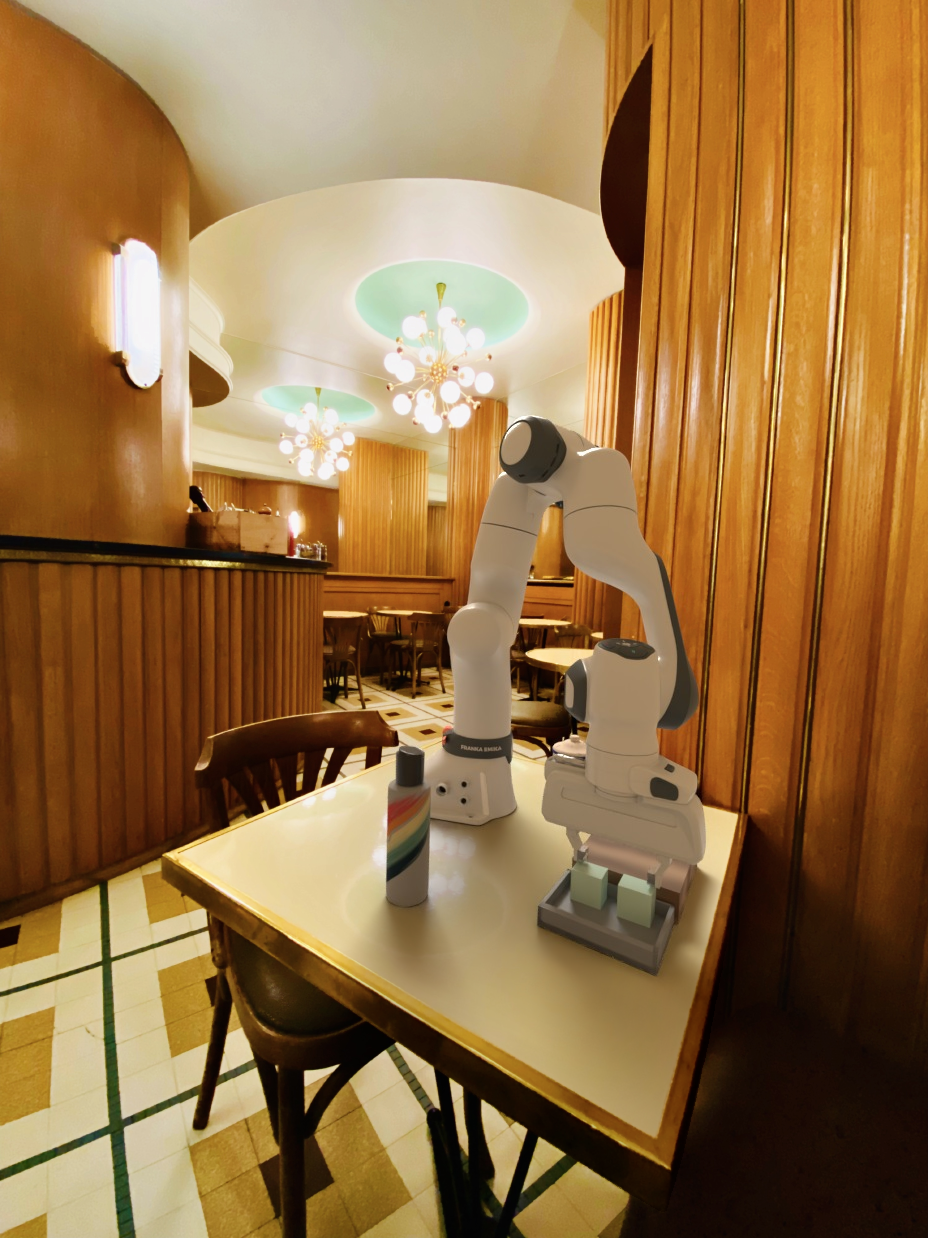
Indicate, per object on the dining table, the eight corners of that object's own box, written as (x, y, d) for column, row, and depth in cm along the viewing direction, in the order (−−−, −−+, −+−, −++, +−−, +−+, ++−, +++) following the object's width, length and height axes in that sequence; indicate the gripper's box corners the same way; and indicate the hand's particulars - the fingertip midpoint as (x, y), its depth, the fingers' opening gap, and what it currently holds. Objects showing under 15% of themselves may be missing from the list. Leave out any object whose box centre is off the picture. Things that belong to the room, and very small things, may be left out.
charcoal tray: (567, 886, 69) (567, 868, 68) (674, 925, 61) (675, 906, 61) (537, 925, 60) (537, 905, 60) (656, 976, 53) (657, 954, 52)
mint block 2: (623, 873, 63) (617, 885, 61) (656, 884, 61) (651, 896, 59) (622, 903, 64) (616, 916, 61) (654, 915, 62) (650, 928, 59)
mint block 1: (578, 859, 67) (571, 869, 64) (608, 868, 65) (601, 879, 62) (577, 887, 67) (570, 899, 64) (606, 898, 65) (600, 910, 62)
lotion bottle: (387, 882, 68) (390, 741, 67) (428, 881, 69) (431, 741, 68) (384, 908, 63) (387, 755, 62) (428, 907, 63) (432, 755, 62)
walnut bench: (605, 839, 82) (606, 815, 82) (697, 866, 75) (698, 840, 74) (571, 885, 69) (572, 857, 69) (678, 924, 61) (679, 893, 61)
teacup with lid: (566, 779, 109) (568, 727, 108) (603, 792, 102) (605, 736, 101) (533, 793, 100) (535, 737, 100) (570, 808, 94) (573, 748, 93)
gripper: (535, 757, 66) (532, 857, 66) (704, 794, 54) (697, 915, 55) (554, 745, 71) (550, 838, 72) (711, 777, 60) (705, 887, 60)
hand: (615, 872), depth 63 cm, fingers open, 8 cm apart
